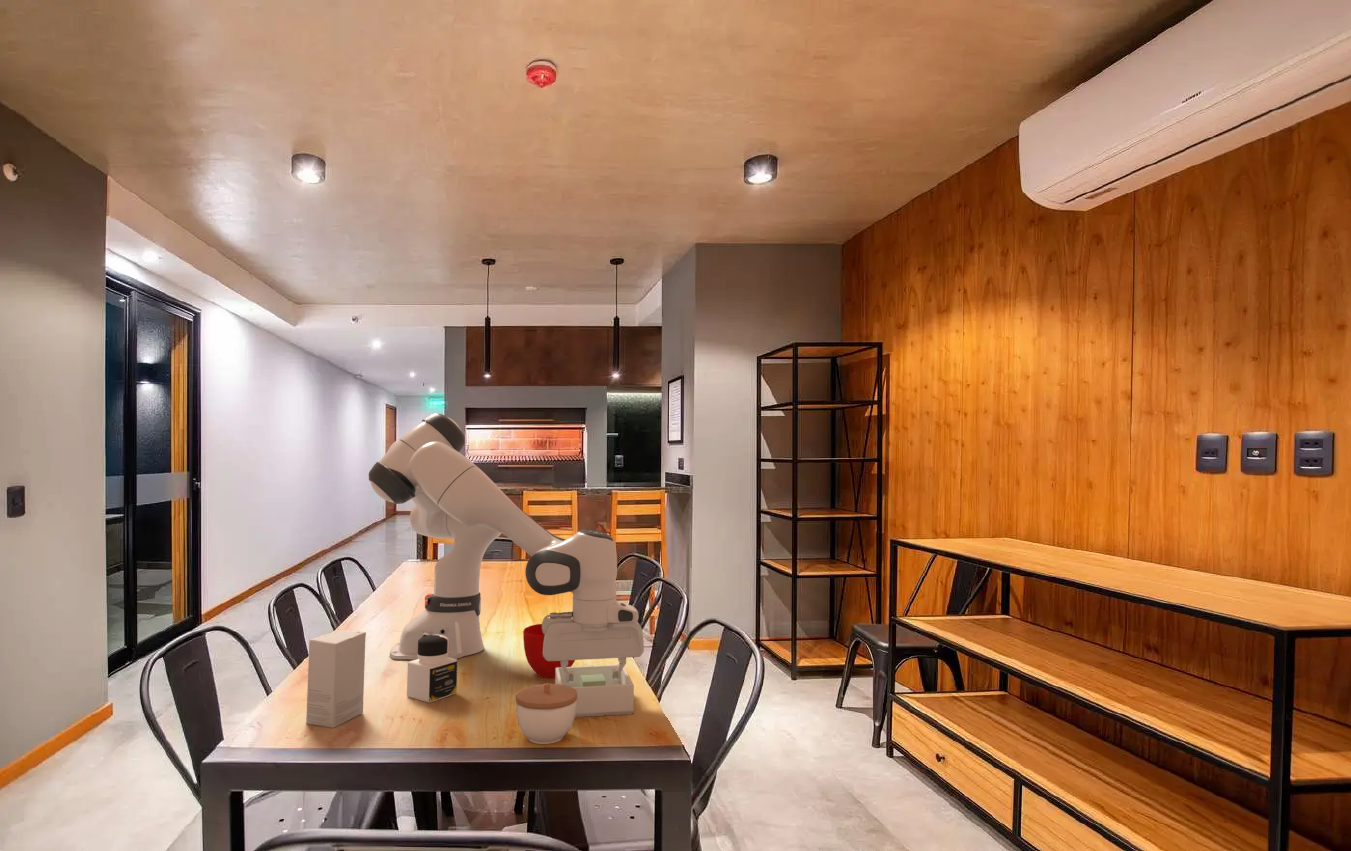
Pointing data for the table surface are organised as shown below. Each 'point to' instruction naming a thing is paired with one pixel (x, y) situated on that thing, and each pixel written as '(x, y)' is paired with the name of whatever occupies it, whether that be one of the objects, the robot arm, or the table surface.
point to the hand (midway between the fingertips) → (592, 680)
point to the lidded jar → (546, 712)
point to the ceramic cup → (539, 652)
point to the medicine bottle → (432, 670)
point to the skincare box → (335, 678)
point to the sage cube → (592, 680)
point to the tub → (600, 691)
